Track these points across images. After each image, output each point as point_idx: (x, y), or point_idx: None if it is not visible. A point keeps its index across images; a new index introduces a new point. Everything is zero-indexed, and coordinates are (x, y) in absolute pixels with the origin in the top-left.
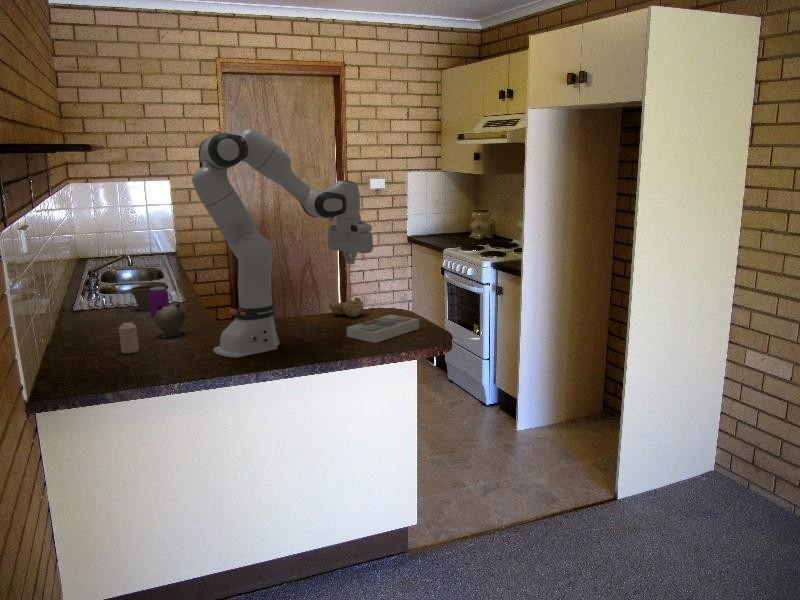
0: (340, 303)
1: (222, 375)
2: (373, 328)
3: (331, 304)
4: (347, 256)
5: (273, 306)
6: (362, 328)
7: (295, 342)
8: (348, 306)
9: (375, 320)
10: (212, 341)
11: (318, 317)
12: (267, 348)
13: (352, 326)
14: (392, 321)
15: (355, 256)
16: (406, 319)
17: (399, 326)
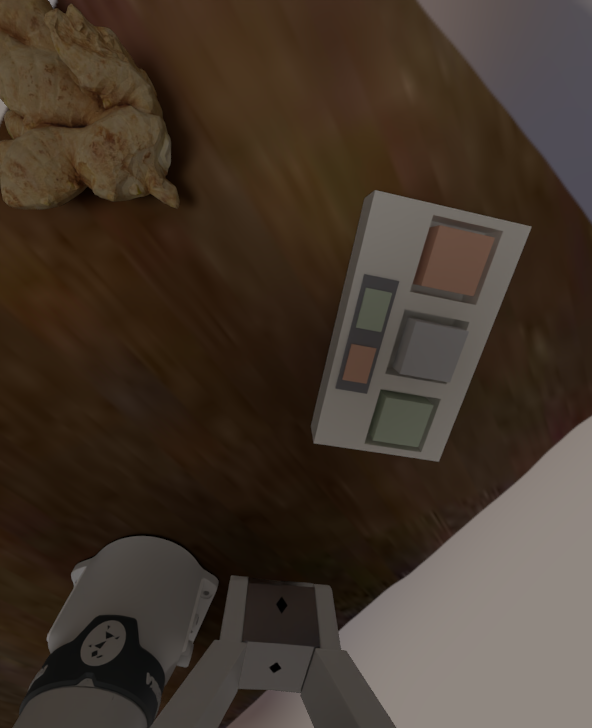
0: (41, 156)
1: (250, 701)
2: (414, 428)
3: (19, 203)
4: (217, 712)
5: (138, 689)
6: (377, 440)
7: (213, 523)
8: (117, 181)
9: (366, 329)
10: (13, 597)
11: (16, 241)
12: (209, 604)
13: (327, 427)
14: (458, 351)
15: (377, 710)
16: (485, 263)
17: (480, 349)
